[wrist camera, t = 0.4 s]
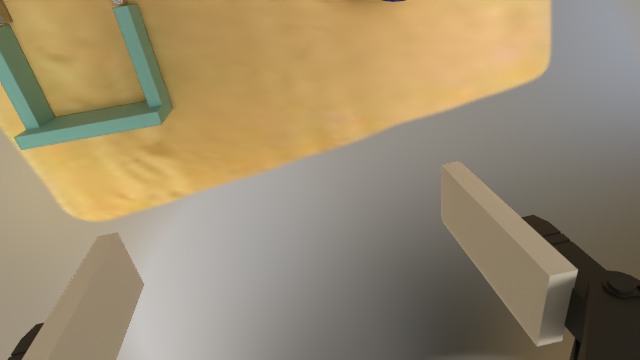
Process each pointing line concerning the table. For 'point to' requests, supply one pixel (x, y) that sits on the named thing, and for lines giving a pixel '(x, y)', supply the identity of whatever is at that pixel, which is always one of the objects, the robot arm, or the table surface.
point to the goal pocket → (45, 129)
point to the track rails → (3, 16)
